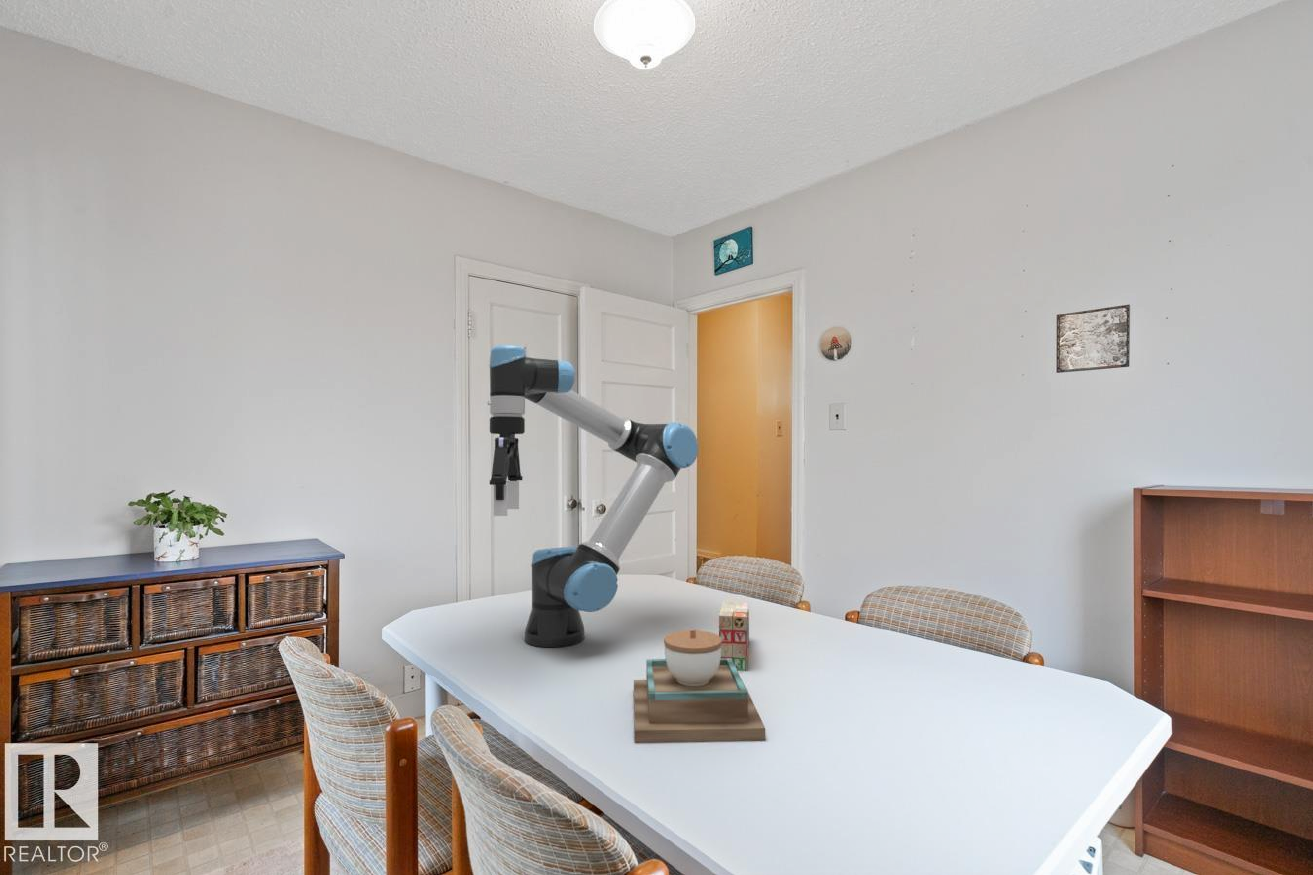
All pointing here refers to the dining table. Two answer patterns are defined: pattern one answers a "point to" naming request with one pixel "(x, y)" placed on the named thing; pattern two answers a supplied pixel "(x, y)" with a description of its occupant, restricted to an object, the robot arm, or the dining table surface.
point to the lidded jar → (692, 656)
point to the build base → (692, 728)
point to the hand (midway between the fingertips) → (506, 512)
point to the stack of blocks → (735, 633)
